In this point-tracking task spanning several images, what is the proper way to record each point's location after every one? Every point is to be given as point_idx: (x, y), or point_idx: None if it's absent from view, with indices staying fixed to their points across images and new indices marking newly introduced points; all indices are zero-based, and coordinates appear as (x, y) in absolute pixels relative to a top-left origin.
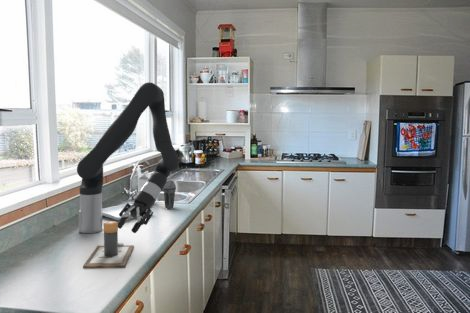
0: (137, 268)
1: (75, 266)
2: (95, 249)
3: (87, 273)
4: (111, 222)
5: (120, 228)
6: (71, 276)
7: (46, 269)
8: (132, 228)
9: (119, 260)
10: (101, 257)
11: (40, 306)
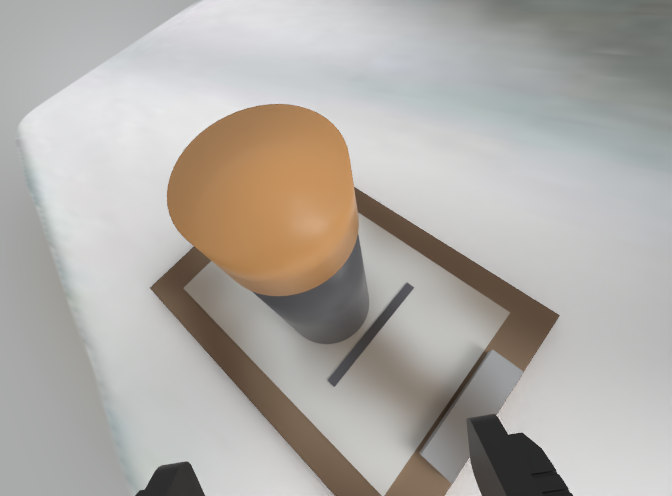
0: (98, 336)
1: None
2: (486, 273)
3: None
4: (272, 188)
5: (472, 467)
6: None
7: (388, 67)
8: (165, 484)
9: (214, 295)
10: None
11: (162, 30)
